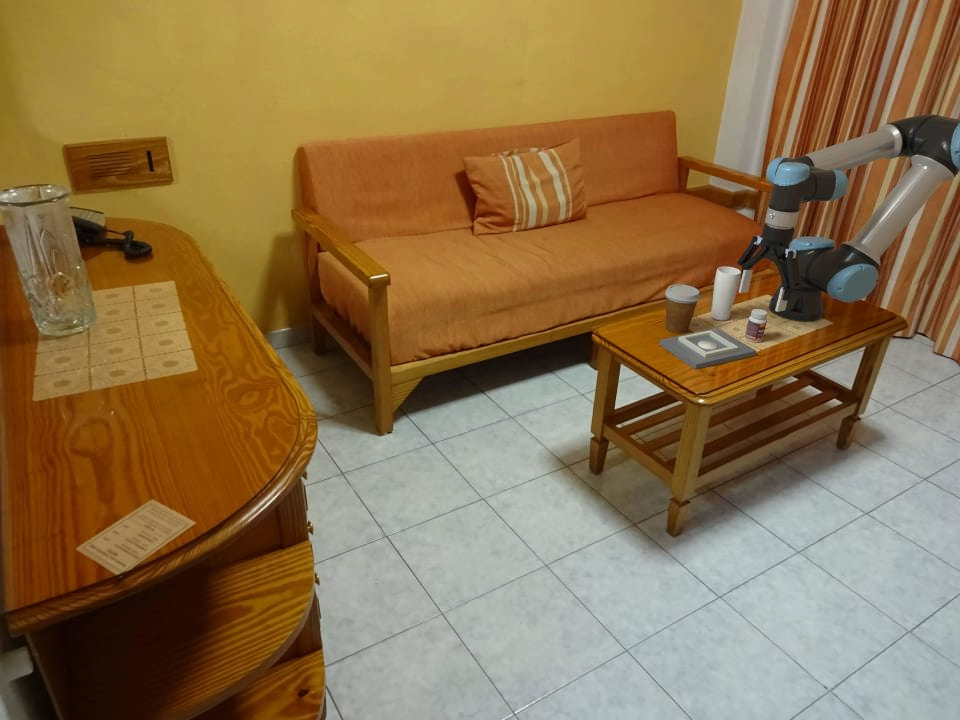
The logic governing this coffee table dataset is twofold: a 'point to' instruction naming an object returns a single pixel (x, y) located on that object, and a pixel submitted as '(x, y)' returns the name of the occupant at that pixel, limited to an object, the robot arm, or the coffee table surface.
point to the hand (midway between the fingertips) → (761, 301)
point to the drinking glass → (724, 292)
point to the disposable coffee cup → (680, 307)
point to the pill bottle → (756, 326)
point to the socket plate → (707, 348)
